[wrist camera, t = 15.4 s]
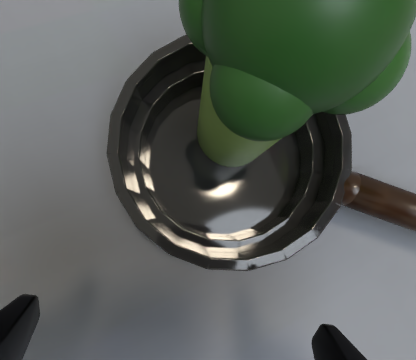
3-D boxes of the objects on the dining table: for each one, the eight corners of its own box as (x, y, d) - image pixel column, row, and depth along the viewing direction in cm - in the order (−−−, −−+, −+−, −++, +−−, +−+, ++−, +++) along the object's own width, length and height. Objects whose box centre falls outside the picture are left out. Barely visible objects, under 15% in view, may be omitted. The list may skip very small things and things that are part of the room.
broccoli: (296, 111, 19) (581, -149, 5) (256, 200, 18) (479, 168, 4) (207, 68, 19) (261, -316, 5) (163, 155, 18) (84, -24, 4)
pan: (349, 148, 20) (396, 130, 15) (237, 296, 18) (254, 325, 13) (209, 35, 20) (215, -16, 15) (85, 171, 18) (52, 158, 14)
